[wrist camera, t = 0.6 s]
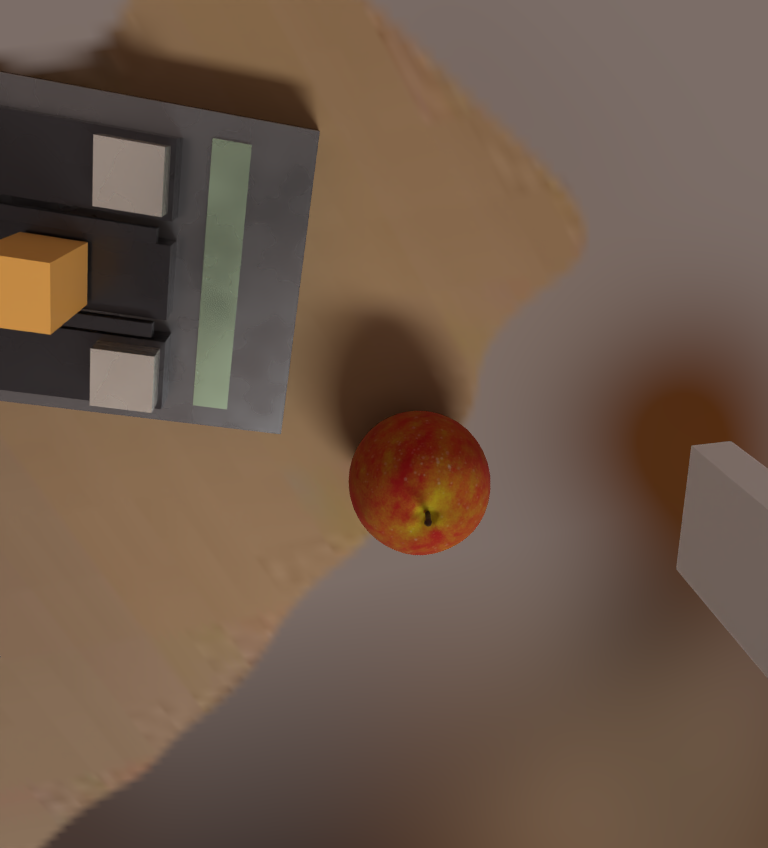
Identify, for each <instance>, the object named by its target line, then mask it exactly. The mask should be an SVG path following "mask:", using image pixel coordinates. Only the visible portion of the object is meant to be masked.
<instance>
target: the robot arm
mask: <svg viewBox="0 0 768 848" xmlns="http://www.w3.org/2000/svg"><path fill="white" fill-rule="evenodd" d="M676 569H677V571H678V572H679V573H680V574H681V575H682V576H683V578H684V579H685V580H686V581H687V582H688V583H689V585H690V586H691V587H692V588H693V590H694V591H695V592H696V593H697V594H698V596H699V597H700V598H701V599H702V600H703V602H704V603H705V604H706V605H707V606H708V608H709V609H710V610H711V611H712V612H713V614H714V615H715V616H716V617H717V618H718V620H719V621H720V622H721V623H722V624H723V626H724V627H725V628H726V629H727V630H728V631H729V632H730V634H731V635H732V636H733V637H734V639H735V640H736V641H737V642H738V643H739V645H740V646H741V647H742V648H743V649H744V651H745V652H746V653H747V654H748V655H749V657H750V658H751V659H752V660H753V661H754V662H755V664H756V665H757V666H758V667H759V669H760V670H761V671H762V672H763V673H764V674H765V676H766V677H767V678H768V469H767V468H766V467H765V466H763V465H762V464H761V463H759V462H758V461H757V460H755V459H754V458H753V457H751V456H750V455H749V454H747V453H746V452H745V451H743V450H742V449H741V448H739V447H738V446H736V445H735V444H734V443H733V442H731V441H729V442H721V443H712V444H703V445H694V446H691V454H690V462H689V470H688V478H687V487H686V495H685V502H684V511H683V519H682V527H681V535H680V543H679V551H678V559H677V567H676ZM0 657H1V656H0Z"/></svg>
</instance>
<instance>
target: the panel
mask: <svg viewBox="0 0 768 848" xmlns="http://www.w3.org/2000/svg"><path fill="white" fill-rule="evenodd" d="M319 132H320V131H319V130H314V129H309V128H303V127H298V126H292V125H287V124H282V123H276V122H271V121H266V120H260V119H255V118H249V117H244V116H239V115H233V114H228V113H222V112H217V111H212V110H206V109H201V108H196V107H190V106H185V105H179V104H174V103H169V102H163V101H158V100H153V99H147V98H142V97H136V96H131V95H126V94H120V93H115V92H110V91H104V90H99V89H93V88H88V87H83V86H77V85H72V84H67V83H61V82H56V81H50V80H45V79H40V78H34V77H29V76H24V75H18V74H13V73H7V72H2V71H0V239H3V238H5V237H8V236H11V235H13V234H16V233H18V232H25V233H31V234H38V235H44V236H51V237H57V238H64V239H70V240H77V241H83V242H88V273H87V305H86V306H85V307H83V308H82V309H81V310H80V311H79V312H77V313H76V314H75V315H74V316H73V317H71V318H70V319H69V320H68V321H67V322H65V323H64V324H63V325H62V326H61V327H59V328H58V329H57V330H56V331H54V332H53V333H52V334H51V335H49V334H42V333H34V332H27V331H19V330H12V329H5V328H0V401H7V402H15V403H24V404H32V405H41V406H49V407H57V408H66V409H74V410H83V411H91V412H99V413H108V414H116V415H125V416H133V417H141V418H150V419H158V420H167V421H175V422H183V423H192V424H200V425H208V426H217V427H225V428H234V429H242V430H250V431H259V432H267V433H276V434H281V429H282V421H283V413H284V405H285V397H286V390H287V382H288V374H289V366H290V358H291V351H292V343H293V335H294V327H295V319H296V312H297V304H298V296H299V288H300V280H301V273H302V265H303V257H304V249H305V241H306V234H307V226H308V218H309V210H310V202H311V195H312V187H313V179H314V171H315V163H316V156H317V148H318V140H319Z"/></svg>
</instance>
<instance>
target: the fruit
mask: <svg viewBox="0 0 768 848" xmlns="http://www.w3.org/2000/svg"><path fill="white" fill-rule="evenodd" d="M349 491H350V497H351V501H352V504H353V507H354V510H355V512H356V514H357V516H358V518H359V520H360V521H361V523H362V524H363V525H364V527H365V528H366V529H367V531H368V532H369V533H370V534H371V535H372V536H373V537H375V538H376V539H377V540H378V541H380V542H381V543H383V544H384V545H386V546H388V547H390V548H392V549H394V550H396V551H399V552H402V553H406V554H411V555H427V554H433V553H437V552H441V551H444V550H446V549H449V548H451V547H453V546H455V545H456V544H458V543H460V542H461V541H463V540H464V539H465V538H467V537H468V536H469V535H470V534H471V533H472V532H473V531H474V530H475V528H476V527H477V526H478V524H479V523H480V521H481V519H482V517H483V515H484V513H485V511H486V507H487V505H488V501H489V494H490V473H489V468H488V463H487V460H486V458H485V455H484V453H483V450H482V449H481V447H480V445H479V444H478V442H477V441H476V439H475V438H474V437H473V436H472V434H471V433H470V432H469V431H468V430H467V429H466V428H464V427H463V426H462V425H461V424H459V423H458V422H456V421H455V420H453V419H451V418H449V417H447V416H444V415H441V414H438V413H434V412H429V411H409V412H403V413H399V414H396V415H393V416H391V417H388V418H386V419H385V420H383V421H381V422H380V423H378V424H377V425H376V426H375V427H374V428H372V429H371V430H370V431H369V432H368V433H367V435H366V436H365V437H364V438H363V439H362V441H361V443H360V444H359V446H358V447H357V449H356V451H355V454H354V456H353V459H352V462H351V466H350V471H349Z"/></svg>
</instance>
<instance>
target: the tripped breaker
mask: <svg viewBox="0 0 768 848" xmlns="http://www.w3.org/2000/svg"><path fill="white" fill-rule="evenodd" d="M87 273H88V242H83V241H77V240H70V239H64V238H57V237H51V236H44V235H38V234H31V233H25V232H18V233H16V234H13V235H11V236H8V237H5V238H3V239H0V328H5V329H12V330H19V331H27V332H34V333H42V334H49V335H51V334H52V333H53V332H54V331H56V330H57V329H58V328H59V327H61V326H62V325H63V324H64V323H65V322H67V321H68V320H69V319H70V318H71V317H73V316H74V315H75V314H76V313H77V312H79V311H80V310H81V309H82V308H83V307H85V306H86V305H87Z"/></svg>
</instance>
